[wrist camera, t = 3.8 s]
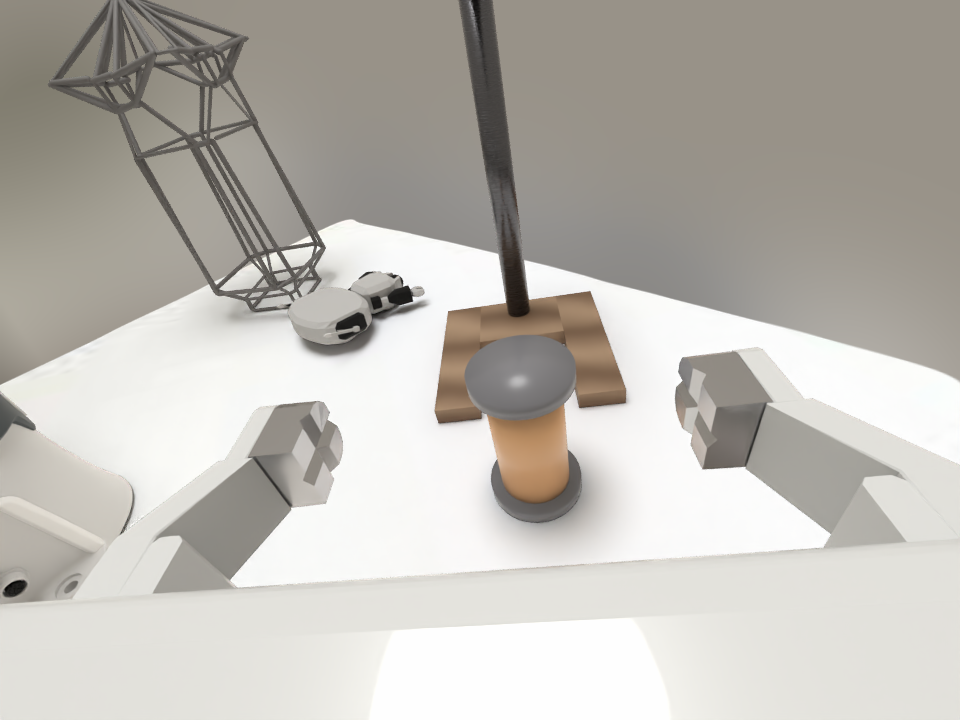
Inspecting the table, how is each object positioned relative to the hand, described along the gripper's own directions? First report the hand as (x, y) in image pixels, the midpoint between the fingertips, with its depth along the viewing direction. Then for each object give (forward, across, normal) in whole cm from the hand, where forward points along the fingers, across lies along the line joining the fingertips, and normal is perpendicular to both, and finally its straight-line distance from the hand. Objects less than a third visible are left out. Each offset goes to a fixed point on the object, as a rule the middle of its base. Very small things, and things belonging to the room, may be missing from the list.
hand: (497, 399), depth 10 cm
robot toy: (+39, -20, -20) cm, 48 cm away
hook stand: (+28, 0, -18) cm, 34 cm away
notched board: (+27, 0, -20) cm, 34 cm away
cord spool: (+12, 0, -20) cm, 24 cm away
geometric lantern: (+49, -34, -20) cm, 63 cm away
